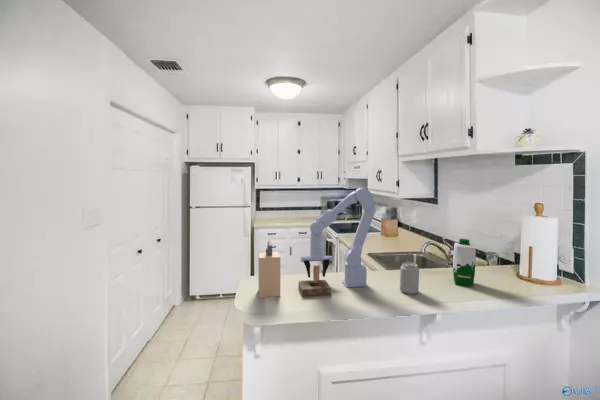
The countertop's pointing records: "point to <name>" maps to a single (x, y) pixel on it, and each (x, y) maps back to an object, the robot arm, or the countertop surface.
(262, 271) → the soap dispenser
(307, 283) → the block
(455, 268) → the milk carton
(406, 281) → the can
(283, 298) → the countertop surface
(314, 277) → the pin
